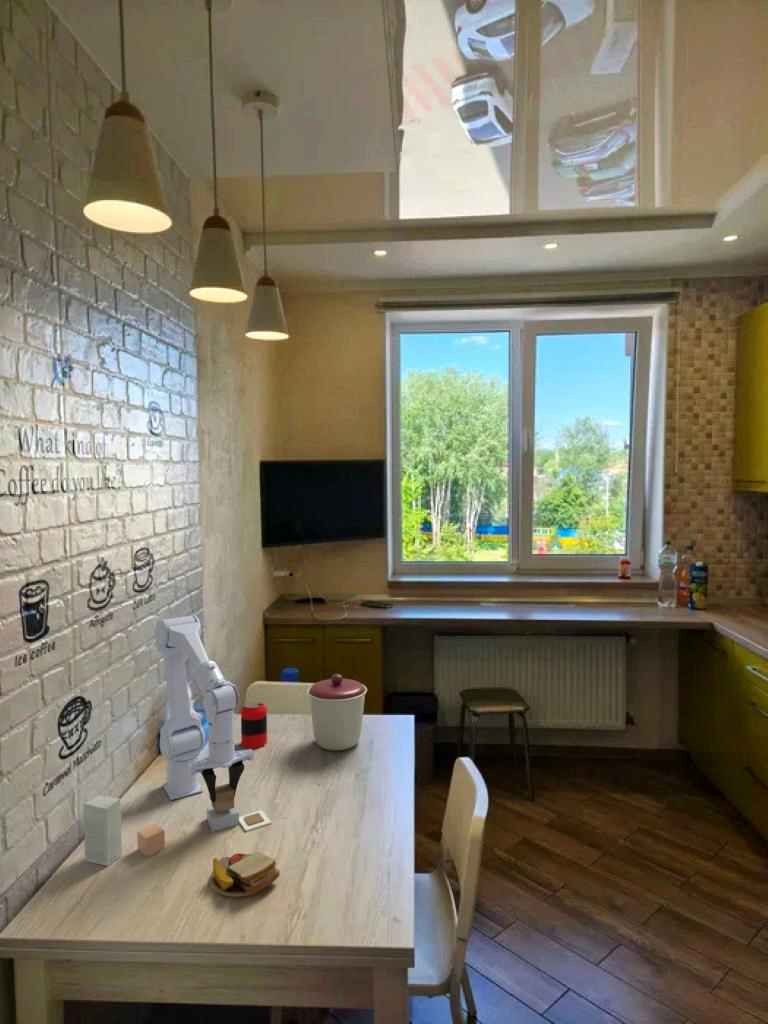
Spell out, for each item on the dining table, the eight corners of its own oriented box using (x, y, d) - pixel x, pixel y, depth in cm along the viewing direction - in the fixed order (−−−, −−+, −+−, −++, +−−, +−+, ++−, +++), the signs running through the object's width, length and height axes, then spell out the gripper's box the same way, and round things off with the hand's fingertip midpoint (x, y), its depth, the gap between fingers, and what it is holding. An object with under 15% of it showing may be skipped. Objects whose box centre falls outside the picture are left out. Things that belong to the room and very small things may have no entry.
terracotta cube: (137, 849, 125) (137, 831, 125) (155, 841, 128) (155, 823, 128) (146, 857, 122) (146, 838, 122) (164, 848, 125) (164, 830, 125)
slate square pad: (206, 820, 137) (206, 807, 137) (232, 813, 139) (232, 800, 139) (212, 832, 131) (212, 819, 131) (239, 825, 134) (238, 812, 134)
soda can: (264, 749, 174) (263, 708, 174) (238, 749, 174) (238, 709, 174) (269, 738, 182) (268, 700, 181) (245, 738, 182) (244, 700, 181)
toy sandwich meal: (258, 851, 124) (258, 829, 124) (289, 885, 113) (288, 861, 113) (200, 875, 117) (200, 851, 116) (226, 913, 106) (226, 888, 106)
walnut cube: (211, 805, 136) (211, 788, 136) (228, 800, 138) (228, 783, 138) (216, 813, 132) (216, 795, 132) (234, 807, 135) (234, 790, 134)
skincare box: (122, 855, 123) (121, 798, 123) (107, 867, 119) (105, 808, 119) (100, 849, 125) (98, 793, 125) (83, 861, 121) (82, 803, 121)
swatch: (237, 819, 136) (237, 816, 136) (261, 811, 139) (261, 808, 139) (245, 831, 131) (245, 828, 131) (271, 823, 134) (271, 820, 134)
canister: (315, 730, 188) (315, 664, 187) (371, 733, 185) (371, 666, 184) (300, 755, 170) (299, 682, 169) (361, 758, 167) (361, 685, 167)
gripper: (194, 753, 128) (195, 814, 128) (258, 737, 135) (258, 795, 136) (185, 741, 134) (186, 800, 134) (247, 727, 141) (248, 783, 142)
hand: (222, 797), depth 135 cm, fingers closed on walnut cube, 4 cm apart
